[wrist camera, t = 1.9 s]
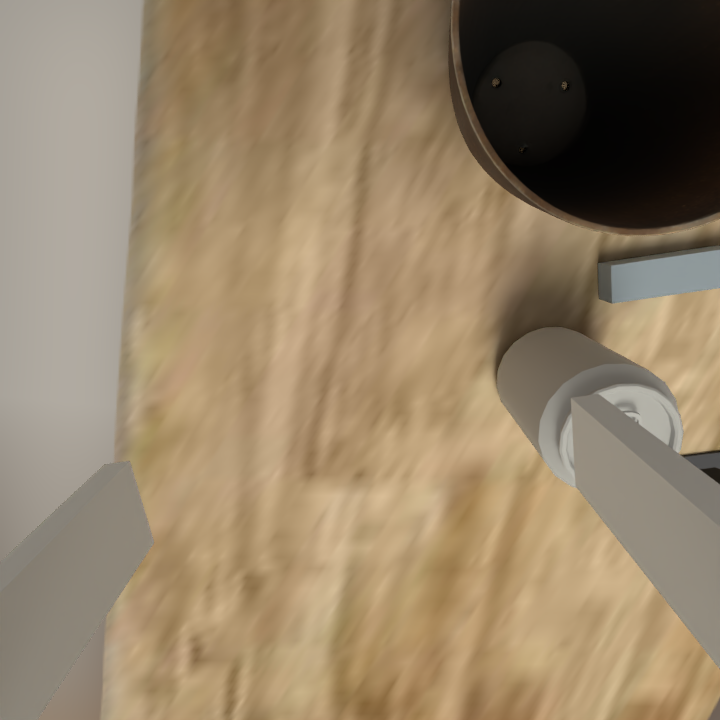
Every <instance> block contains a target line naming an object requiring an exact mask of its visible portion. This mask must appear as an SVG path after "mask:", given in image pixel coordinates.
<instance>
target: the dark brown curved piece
mask: <svg viewBox="0 0 720 720" xmlns="http://www.w3.org/2000/svg"><path fill="white" fill-rule="evenodd" d="M449 78H450V89H451V96H452V102H453V107H454V111H455V115H456V119H457V123H458V125H459V128H460V131H461V133H462V135H463V138H464V140H465V142H466V144H467V146H468V148H469V150H470V151H471V153H472V154H473V156H474V157H475V159H476V160H477V161H478V163H479V164H480V165H481V166H482V168H483V169H484V170H485V171H486V172H487V173H488V174H489V175H490V176H491V177H492V178H493V179H494V180H495V181H496V182H497V183H498V184H499V185H501V186H502V187H503V188H504V189H506V190H507V191H508V192H510V193H511V194H513V195H514V196H516V197H517V198H519V199H521V200H523V201H524V202H526V203H528V204H529V205H531V206H533V207H535V208H537V209H540V210H542V211H544V212H546V213H548V214H550V215H552V216H555V217H557V218H559V219H561V220H564V221H566V222H569V223H571V224H574V225H576V226H579V227H583V228H586V229H589V230H593V231H597V232H602V233H607V234H613V235H624V236H653V235H664V234H670V233H676V232H681V231H685V230H689V229H693V228H696V227H699V226H703V225H706V224H709V223H711V222H714V221H716V220H719V219H720V0H452V5H451V19H450V35H449ZM495 78H498V79H500V80H501V85H500V86H499V87H497V88H496V87H493V85H492V80H493V79H495ZM563 81H566V82H568V84H569V89H568V90H567V91H564V90H563V88H562V82H563ZM520 147H521V148H525V147H526V150H525V152H524V153H520V152H519V148H520Z"/></svg>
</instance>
